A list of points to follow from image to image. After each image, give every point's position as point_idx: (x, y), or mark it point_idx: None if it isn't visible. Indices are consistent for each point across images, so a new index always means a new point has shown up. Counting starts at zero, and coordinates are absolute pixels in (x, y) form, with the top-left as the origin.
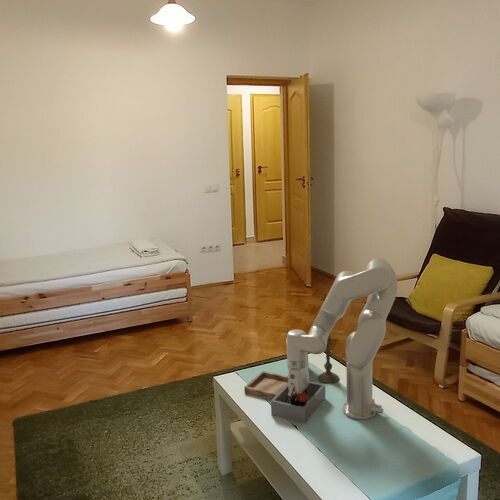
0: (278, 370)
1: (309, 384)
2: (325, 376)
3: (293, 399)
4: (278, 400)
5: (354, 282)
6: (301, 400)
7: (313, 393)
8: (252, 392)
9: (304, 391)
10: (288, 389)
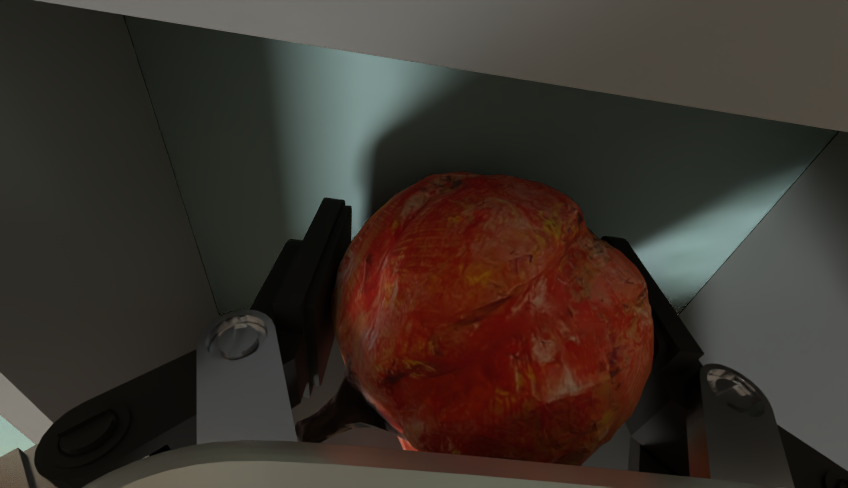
0: (34, 445)
1: (12, 307)
2: None
3: (785, 440)
4: (596, 461)
5: None
6: (644, 295)
7: (116, 147)
8: None
9: (317, 322)
10: (339, 444)
